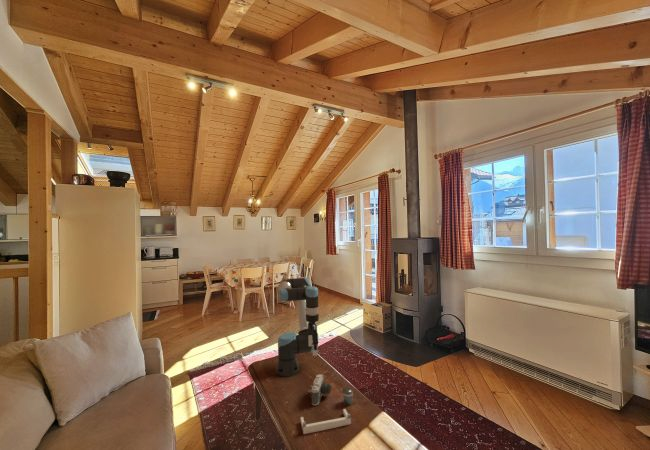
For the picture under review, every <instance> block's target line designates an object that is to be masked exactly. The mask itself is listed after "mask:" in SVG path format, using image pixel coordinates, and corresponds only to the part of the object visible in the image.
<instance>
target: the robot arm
mask: <svg viewBox="0 0 650 450" xmlns="http://www.w3.org/2000/svg"><path fill="white" fill-rule="evenodd" d="M277 291H278V296H279V301H280V302H281V303H282V302H284V303H286V302H295V301H296V305H297V313H298V323H299V331H298V332H297V334H296V333H295V332H293V331H292V332H291V331H288V332H285V333H283V334H281V335H279V336H278V339H277V363H276V366H275V374H276V375H277V376H280V377H285V378H287V377H292V376H294V375H297V374H298V373H299V371H300V365H299V361H298V359H297V355H301V354H308V353H310V354H311V353H312V357H314V356H318V353H319V352H318V348H319V333H318V325H317V323H316V322H319V319H320V315H319V288H318V287H316V286H312V284H311V280H310V278H308V277H299V278H298V277H296V278H286V279H283V280H282V281H280V282H279V283H278V285H277Z"/></svg>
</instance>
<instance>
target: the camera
mask: <svg viewBox="0 0 650 450" xmlns="http://www.w3.org/2000/svg"><path fill="white" fill-rule="evenodd" d="M310 387H311V405H312V406H317V405H319V403H320V402H321V399H322V396H323V395H329V394H330V393H331V391H332V385H331V383H328V382H324V375H323V374H320V373H319V374H316V376H315V378H314V380H313V383H311V385H310Z"/></svg>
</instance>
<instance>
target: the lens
mask: <svg viewBox="0 0 650 450" xmlns="http://www.w3.org/2000/svg"><path fill="white" fill-rule="evenodd" d="M342 397H343V401H342V402H343V403H342V404H343V405H344V406H347V407H350V406H352V405H353V404H354V391H353V388H352V387H344V388H343V389H342Z"/></svg>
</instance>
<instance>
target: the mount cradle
mask: <svg viewBox="0 0 650 450" xmlns="http://www.w3.org/2000/svg"><path fill="white" fill-rule="evenodd" d="M342 411H343V412H342V413H343V416H344V417H338V418H333V419H328V420H323V421H318V422H313V423H312V422H311V423H307V422H306V421H305V420H304V416H300V425H301V429H302V433H303V435H306V434H311V433H316V432H321V431H327V430H331V429H335V428H339V427H343V426H348V425H351V424H352V418H351V416H352V415H351V413H348V411H347V409H346V408H343V410H342Z"/></svg>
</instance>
